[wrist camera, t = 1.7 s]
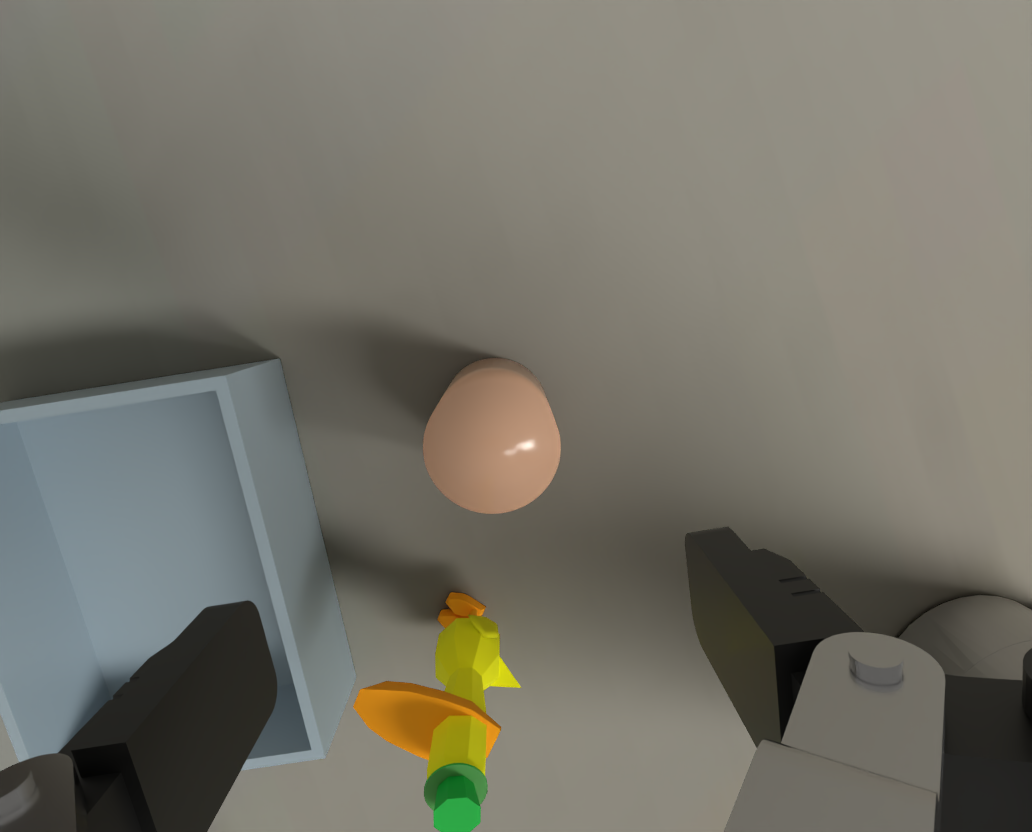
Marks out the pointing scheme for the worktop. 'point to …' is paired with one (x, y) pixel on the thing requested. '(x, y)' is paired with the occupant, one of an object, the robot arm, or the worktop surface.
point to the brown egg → (492, 438)
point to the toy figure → (447, 714)
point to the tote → (161, 550)
